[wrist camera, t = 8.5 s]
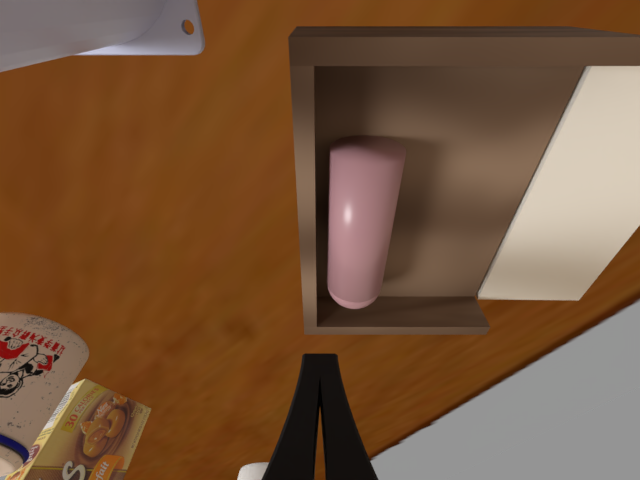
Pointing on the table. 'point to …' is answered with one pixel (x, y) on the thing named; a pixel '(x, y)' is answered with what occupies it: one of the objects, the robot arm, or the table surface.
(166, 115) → the table surface
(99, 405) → the candy box
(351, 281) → the pink tapered cylinder
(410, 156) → the brown wooden open box
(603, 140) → the cream flat board
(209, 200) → the table surface
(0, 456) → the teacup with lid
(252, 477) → the fruit juice
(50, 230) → the table surface
